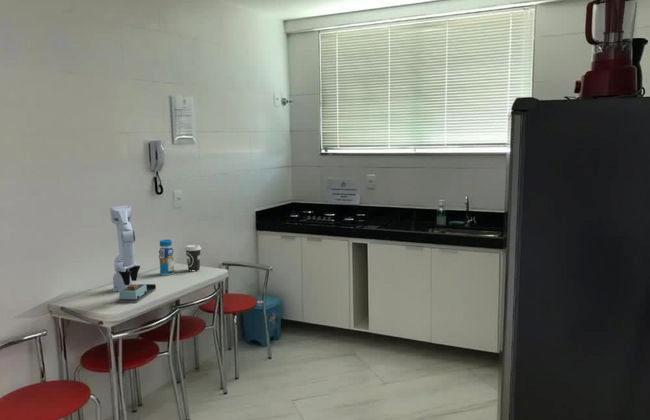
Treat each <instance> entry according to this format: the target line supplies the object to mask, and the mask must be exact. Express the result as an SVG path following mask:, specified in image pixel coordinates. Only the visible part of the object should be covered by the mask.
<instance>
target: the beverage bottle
mask: <svg viewBox="0 0 650 420" xmlns="http://www.w3.org/2000/svg"><path fill="white" fill-rule="evenodd" d="M172 245H173V242H172V240H171V239H161V240H159V247H160V248H159V251H158V254H159V255H158V259H159V273H160V275H161V276H171V274H172V275H174V274H175V262H174V261H175V259H174V258H175V254H174V249H173V248H172Z"/></svg>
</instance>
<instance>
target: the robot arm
mask: <svg viewBox="0 0 650 420" xmlns="http://www.w3.org/2000/svg"><path fill="white" fill-rule="evenodd" d="M109 213H110V221H111V222H112V223H113V224H115V226H116V232H117V233H116V234H117V241H118V251H119V252H118V253H119V254H118V255H117V256H115V258H114V263H113V264H114V274H113V275H112V276H113V277H112V284H113V290H112V291H113V292H119V291H120V290H122V289H123V288H125V287H127V286H129V285H130V284H134V282H136V281H137V279H138V274H139V271H140V269H141V266H140V265H139V261H138V260H136V248H135V242H136V232H135V229H133V227H132V224H131V219H132V207H131V206H130V205H119V206H117V205H116V206H111V207H110V210H109Z"/></svg>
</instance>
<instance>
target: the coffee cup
mask: <svg viewBox="0 0 650 420" xmlns="http://www.w3.org/2000/svg"><path fill="white" fill-rule="evenodd" d="M201 250H202V247H201V246H200V244H189V245H188V244H187V245H186V246H185V248H184V251H185V255H186V261H187V262H186V263H187V269H188V271H189V270H191V271H192V270H199V269H200V267H201ZM200 270H201V269H200ZM200 270H199V271H200ZM191 271H190V272H191Z"/></svg>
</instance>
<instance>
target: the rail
mask: <svg viewBox="0 0 650 420" xmlns="http://www.w3.org/2000/svg"><path fill="white" fill-rule="evenodd" d="M145 284H146V287H147V293H145V294H143V295H142V296H140V298H137V299H120V298H119V299H117V300H116V303H117V304H122V303H124V304H137V303H139V302H140V301H141V300H143V299H145V298H146V297H148V296H149V295H150V294H152V293H153V292H155V291H156V290H157V286H156V284H155V283H145Z"/></svg>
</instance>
